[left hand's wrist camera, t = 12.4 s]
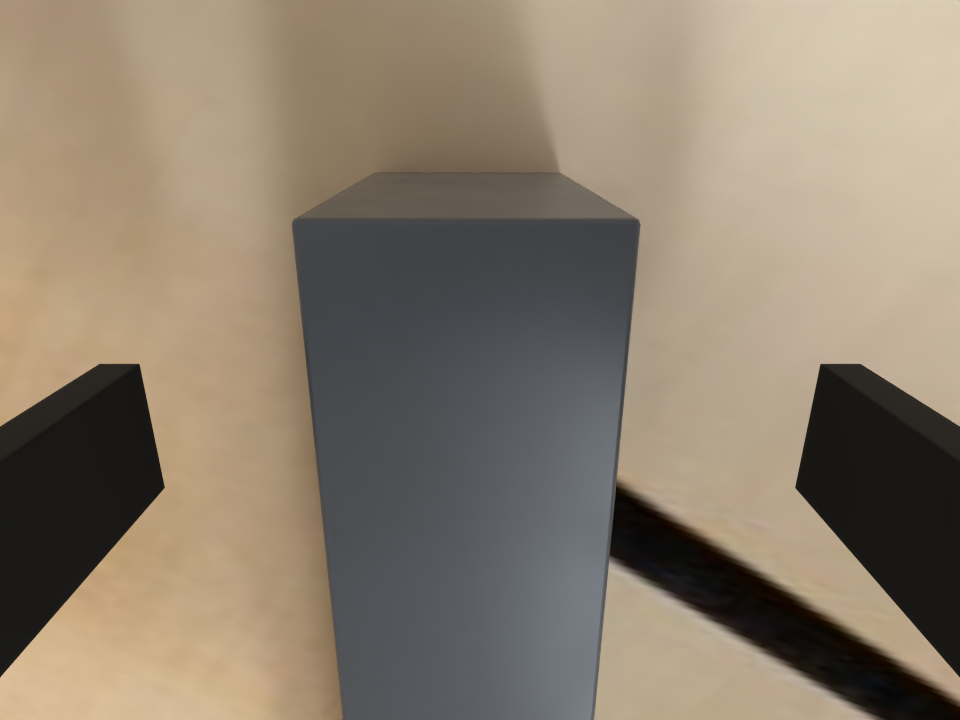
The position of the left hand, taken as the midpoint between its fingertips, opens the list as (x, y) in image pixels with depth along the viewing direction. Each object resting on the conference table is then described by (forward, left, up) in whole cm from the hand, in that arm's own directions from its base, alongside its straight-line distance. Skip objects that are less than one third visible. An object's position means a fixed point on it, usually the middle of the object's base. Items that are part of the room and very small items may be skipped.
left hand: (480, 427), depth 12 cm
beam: (+11, +33, -6) cm, 36 cm away
